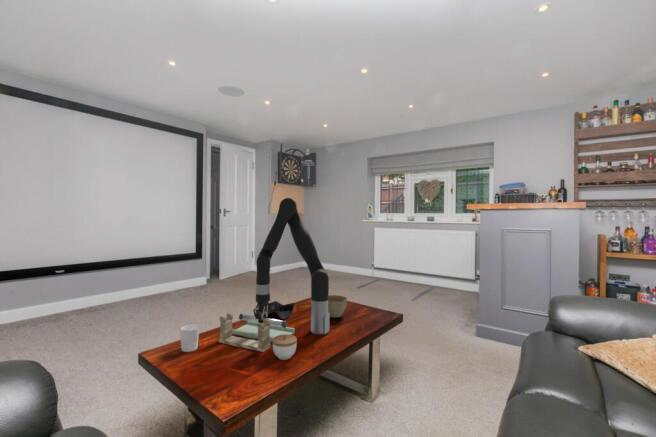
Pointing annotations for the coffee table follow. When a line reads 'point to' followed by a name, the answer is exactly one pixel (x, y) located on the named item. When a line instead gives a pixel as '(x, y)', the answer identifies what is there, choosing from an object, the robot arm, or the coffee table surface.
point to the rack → (258, 345)
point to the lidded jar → (284, 346)
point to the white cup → (189, 337)
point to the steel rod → (272, 321)
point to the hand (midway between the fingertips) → (262, 324)
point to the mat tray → (252, 331)
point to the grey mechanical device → (281, 309)
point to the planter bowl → (336, 305)
